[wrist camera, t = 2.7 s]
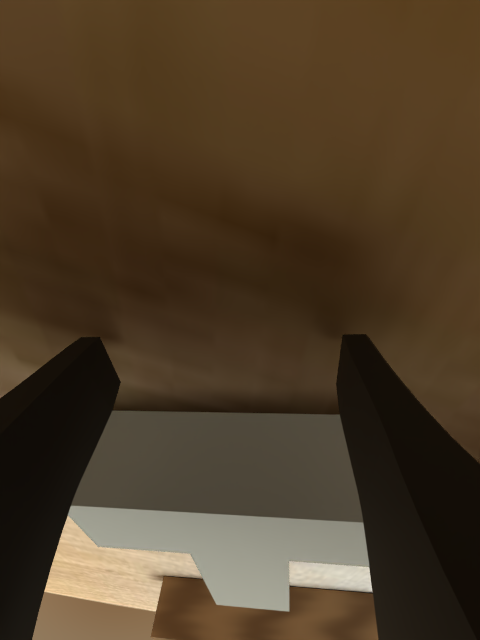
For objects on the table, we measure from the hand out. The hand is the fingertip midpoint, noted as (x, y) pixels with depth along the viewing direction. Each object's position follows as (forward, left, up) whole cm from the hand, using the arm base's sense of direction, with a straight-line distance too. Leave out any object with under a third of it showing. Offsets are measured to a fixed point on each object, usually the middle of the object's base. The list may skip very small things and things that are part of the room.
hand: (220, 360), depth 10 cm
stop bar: (0, +30, -1) cm, 30 cm away
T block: (0, +11, -2) cm, 11 cm away
